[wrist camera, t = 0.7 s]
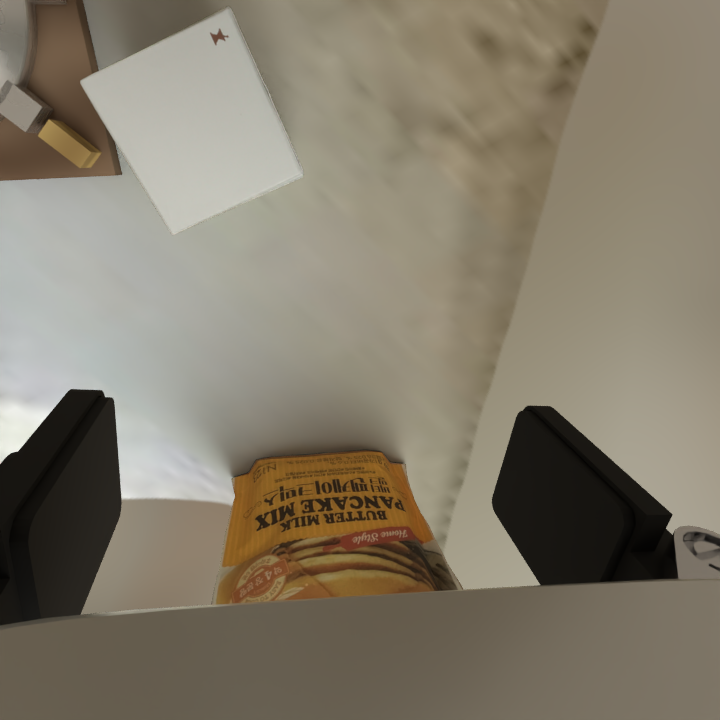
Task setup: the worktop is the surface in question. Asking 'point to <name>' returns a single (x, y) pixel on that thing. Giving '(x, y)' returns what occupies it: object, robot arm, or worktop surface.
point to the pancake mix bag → (327, 532)
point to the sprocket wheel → (20, 64)
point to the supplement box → (195, 122)
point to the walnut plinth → (60, 106)
